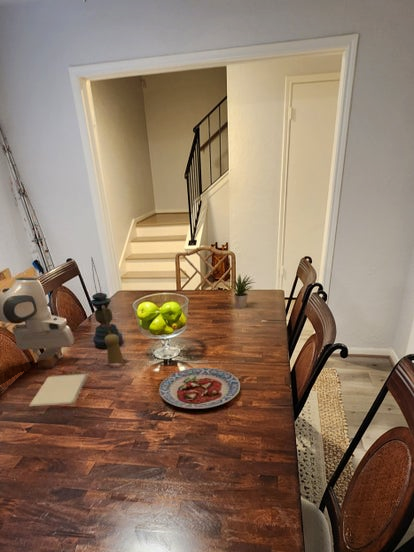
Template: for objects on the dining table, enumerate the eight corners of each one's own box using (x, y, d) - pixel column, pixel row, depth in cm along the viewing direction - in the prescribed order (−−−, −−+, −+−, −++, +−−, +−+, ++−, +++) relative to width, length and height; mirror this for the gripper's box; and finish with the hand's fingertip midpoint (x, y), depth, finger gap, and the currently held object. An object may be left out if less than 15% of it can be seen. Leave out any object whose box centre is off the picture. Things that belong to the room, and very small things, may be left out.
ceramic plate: (249, 408, 110) (249, 399, 108) (162, 419, 107) (161, 410, 105) (230, 369, 131) (230, 362, 130) (157, 378, 128) (156, 370, 127)
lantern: (127, 346, 153) (112, 257, 135) (98, 353, 149) (79, 262, 131) (118, 335, 164) (103, 252, 146) (91, 341, 160) (72, 256, 142)
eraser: (39, 369, 136) (36, 360, 134) (49, 355, 146) (47, 347, 144) (52, 368, 136) (50, 359, 134) (62, 354, 146) (60, 346, 144)
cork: (116, 358, 144) (111, 331, 138) (127, 361, 141) (122, 334, 135) (104, 363, 140) (99, 336, 134) (115, 367, 137) (110, 339, 131)
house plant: (246, 313, 183) (246, 279, 174) (222, 309, 189) (221, 276, 181) (258, 305, 193) (260, 272, 184) (235, 301, 199) (235, 270, 191)
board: (29, 409, 115) (28, 406, 114) (49, 378, 132) (48, 375, 131) (75, 406, 115) (74, 403, 114) (89, 376, 132) (88, 373, 131)
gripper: (7, 328, 130) (19, 363, 137) (65, 324, 130) (74, 360, 138) (14, 322, 135) (25, 356, 143) (70, 318, 136) (78, 353, 143)
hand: (50, 358), depth 140 cm, fingers closed on eraser, 5 cm apart
